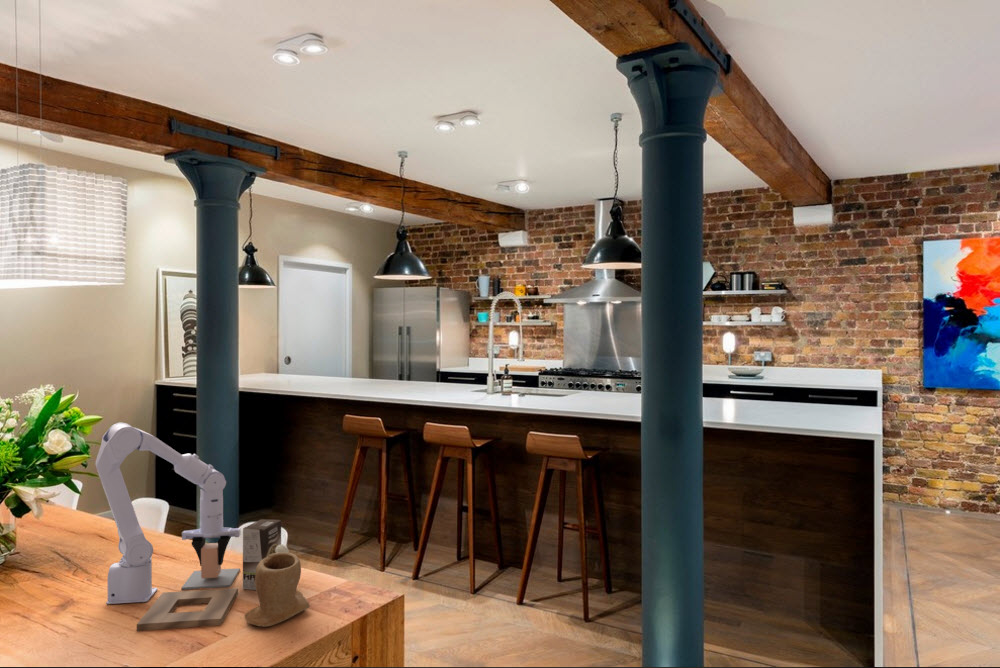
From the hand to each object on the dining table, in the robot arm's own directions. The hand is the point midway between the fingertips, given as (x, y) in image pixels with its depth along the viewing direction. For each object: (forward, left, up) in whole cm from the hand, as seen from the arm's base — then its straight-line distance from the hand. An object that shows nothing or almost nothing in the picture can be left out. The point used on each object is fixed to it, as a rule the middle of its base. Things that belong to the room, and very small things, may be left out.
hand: (211, 564), depth 181 cm
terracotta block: (0, -1, -3) cm, 3 cm away
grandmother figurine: (+20, -13, -4) cm, 24 cm away
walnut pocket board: (0, -20, -4) cm, 20 cm away
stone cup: (+22, -27, -4) cm, 35 cm away
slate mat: (0, 0, -4) cm, 4 cm away
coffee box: (+14, -5, -4) cm, 16 cm away
